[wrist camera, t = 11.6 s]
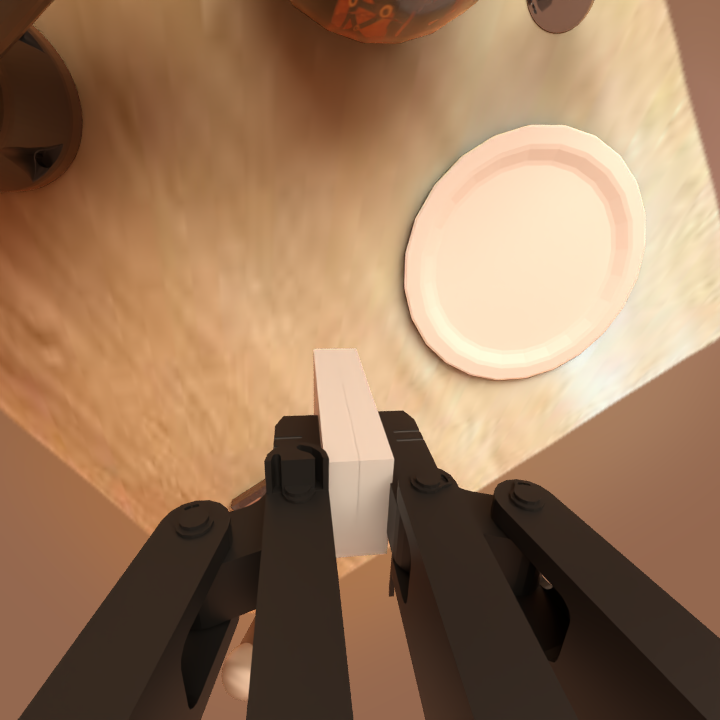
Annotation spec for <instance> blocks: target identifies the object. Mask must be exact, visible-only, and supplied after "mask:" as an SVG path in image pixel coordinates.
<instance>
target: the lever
mask: <svg viewBox="0 0 720 720" xmlns="http://www.w3.org/2000/svg"><path fill="white" fill-rule="evenodd" d="M254 627H255V618H254V620H253V622H252V623H251V625H250V627H249V629H248V631H247V633H246V634H245V636H244V638H243V640H242V642H241V644H240V645H239V646H237V647H235V648H234V649H233V650H232V651H231V652H230V653H229V655H228V656H227V658H226V660H225V662H224V665H223V668H222V682H223V686H224V688H225V691H226V692H227V693H228V694H229V695H230V696H231V697H233V698H234V699H237V700H248V694H249V683H250V671H251V660H252V649H253V638H254Z"/></svg>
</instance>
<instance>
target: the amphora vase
mask: <svg viewBox="0 0 720 720" xmlns="http://www.w3.org/2000/svg"><path fill="white" fill-rule="evenodd" d="M289 1H290V2H291V3H292V4H293V6H294V7H296V8H297V9H298V10H300V11H301V12H303V13H304V14H305V15H307V16H308V17H310V18H311V19H312V20H314V21H315V22H317V23H318V24H319V25H321V26H322V27H324V28H325V29H326V30H328V31H331V32H333V33H336V34H339V35H342V36H345V37H348V38H350V39H353V40H356V41H359V42H362V43H387V44H399V43H402V42H406V41H409V40H412V39H416V38H419V37H422V36H426V35H429V34H432V33H434V32H435V31H437V30H438V29H440V28H441V27H443V26H444V25H446V24H447V23H449V22H450V21H452V20H453V19H455V18H456V17H458V16H459V15H461V14H462V13H464V12H465V11H466V10H468V9H469V8H470V7H471V6H473V5H474V4H475V3H476V2H477V1H478V0H289Z"/></svg>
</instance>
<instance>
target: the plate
mask: <svg viewBox="0 0 720 720" xmlns="http://www.w3.org/2000/svg"><path fill="white" fill-rule="evenodd" d="M644 249H645V210H644V206H643V202H642V198H641V195H640V191H639V187H638V183H637V181H636V180H635V178H634V176H633V175H632V173H631V172H630V170H629V168H628V167H627V165H626V164H625V162H624V161H623V159H622V157H621V156H620V155H619V154H618V153H616V152H615V151H614V150H613V149H612V148H610V147H609V146H608V145H607V144H605V143H604V142H603V141H602V140H600V139H599V138H598V137H597V136H595V135H592V134H589V133H586V132H583V131H580V130H578V129H575V128H572V127H569V126H566V125H528V126H524V127H521V128H518V129H514V130H511V131H508V132H505V133H501V134H498V135H495V136H493V137H491V138H489V139H488V140H486V141H485V142H483V143H482V144H480V145H478V146H477V147H475V148H474V149H472V150H471V151H469V152H467V153H466V154H464V155H463V156H461V157H460V158H459V159H458V160H457V161H456V162H455V163H454V164H453V166H452V167H451V168H450V169H449V170H448V171H447V172H446V173H445V174H444V175H443V176H442V177H441V178H440V179H439V180H438V181H437V182H436V184H435V185H434V186H433V188H432V190H431V191H430V193H429V195H428V197H427V198H426V200H425V202H424V204H423V205H422V207H421V209H420V211H419V212H418V214H417V216H416V218H415V220H414V224H413V227H412V231H411V234H410V238H409V241H408V245H407V248H406V252H405V271H404V290H405V294H406V298H407V302H408V306H409V311H410V315H411V318H412V320H413V322H414V324H415V325H416V327H417V329H418V331H419V333H420V334H421V336H422V338H423V340H424V341H425V343H426V344H427V345H428V346H429V347H430V348H431V349H432V350H433V351H434V352H435V353H436V354H437V355H438V356H439V357H440V358H441V359H442V360H443V361H444V362H446V363H447V364H449V365H451V366H453V367H455V368H457V369H459V370H461V371H463V372H465V373H467V374H469V375H472V376H478V377H483V378H488V379H493V380H507V379H522V378H528V377H531V376H534V375H537V374H540V373H544V372H547V371H550V370H553V369H555V368H557V367H558V366H560V365H562V364H564V363H565V362H567V361H569V360H571V359H572V358H574V357H576V356H578V355H579V354H581V353H582V352H583V351H584V350H585V349H586V348H587V347H589V346H590V345H591V344H592V343H593V342H594V341H595V340H597V339H598V338H599V337H600V336H601V335H602V334H603V333H604V332H605V331H606V329H607V328H608V327H609V325H610V324H611V323H612V322H613V320H614V319H615V318H616V316H617V315H618V314H619V312H620V311H621V310H622V309H623V307H624V305H625V303H626V301H627V299H628V297H629V295H630V292H631V290H632V288H633V286H634V284H635V282H636V280H637V278H638V274H639V270H640V266H641V262H642V258H643V253H644Z"/></svg>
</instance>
